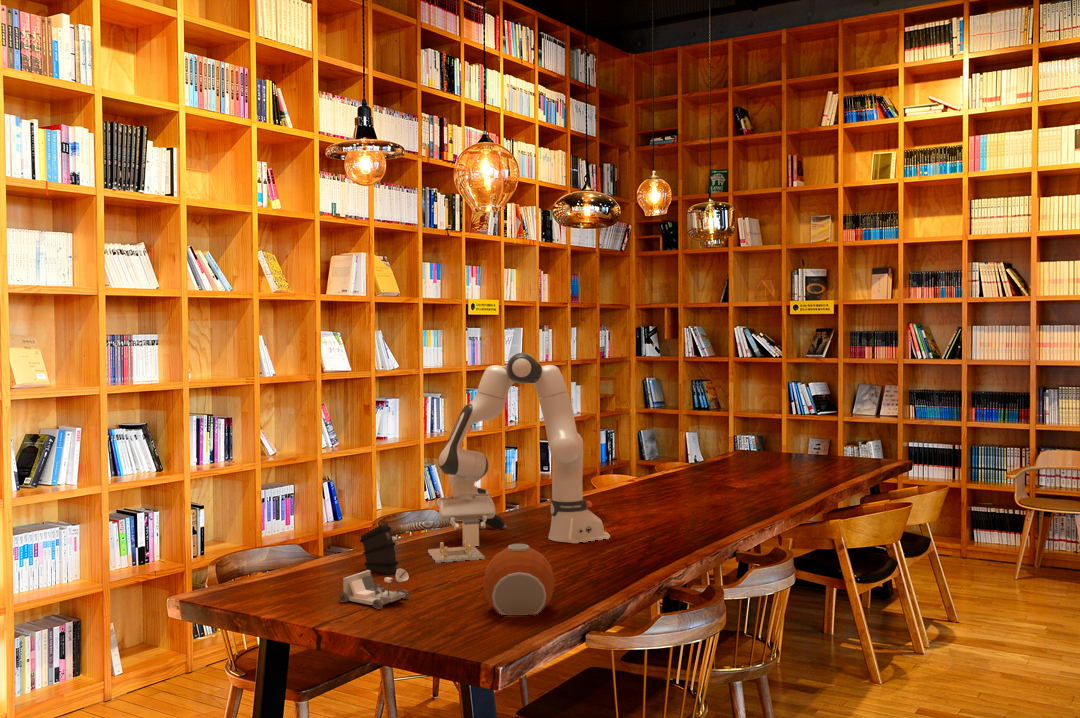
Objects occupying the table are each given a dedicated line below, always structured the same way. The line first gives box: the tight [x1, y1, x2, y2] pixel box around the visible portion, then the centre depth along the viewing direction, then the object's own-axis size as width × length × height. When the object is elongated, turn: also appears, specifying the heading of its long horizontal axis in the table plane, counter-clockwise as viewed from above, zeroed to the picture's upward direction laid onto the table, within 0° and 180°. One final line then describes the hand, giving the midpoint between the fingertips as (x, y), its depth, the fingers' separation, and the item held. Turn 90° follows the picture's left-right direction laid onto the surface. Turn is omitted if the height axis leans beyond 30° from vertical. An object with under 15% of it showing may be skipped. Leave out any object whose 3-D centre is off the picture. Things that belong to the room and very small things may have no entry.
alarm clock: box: [482, 543, 556, 616], centre depth 237 cm, size 19×18×17 cm
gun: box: [477, 513, 508, 530], centre depth 343 cm, size 3×16×10 cm, turn 78°
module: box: [461, 519, 480, 548], centre depth 314 cm, size 5×4×9 cm
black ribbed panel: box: [359, 523, 399, 575], centre depth 280 cm, size 4×13×15 cm, turn 53°
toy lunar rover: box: [338, 568, 410, 610], centre depth 247 cm, size 18×10×12 cm
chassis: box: [427, 540, 485, 564], centre depth 299 cm, size 16×16×4 cm
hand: (470, 528), depth 314 cm, fingers open, 8 cm apart
